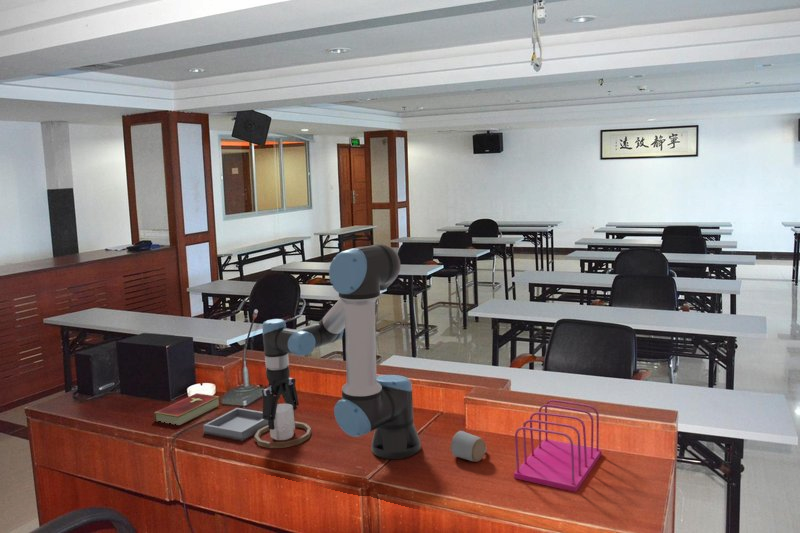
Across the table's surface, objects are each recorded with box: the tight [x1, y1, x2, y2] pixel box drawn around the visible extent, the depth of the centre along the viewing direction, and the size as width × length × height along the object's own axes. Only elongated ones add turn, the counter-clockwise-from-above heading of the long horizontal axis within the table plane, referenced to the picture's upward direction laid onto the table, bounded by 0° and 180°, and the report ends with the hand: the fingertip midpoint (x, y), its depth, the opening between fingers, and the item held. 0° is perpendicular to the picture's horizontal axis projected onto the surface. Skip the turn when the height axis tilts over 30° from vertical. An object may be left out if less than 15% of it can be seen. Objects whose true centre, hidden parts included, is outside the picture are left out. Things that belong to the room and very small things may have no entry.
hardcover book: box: [153, 392, 220, 426], centre depth 244 cm, size 12×21×4 cm, turn 153°
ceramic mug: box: [450, 430, 488, 463], centre depth 196 cm, size 11×8×8 cm
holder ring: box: [253, 420, 312, 449], centre depth 218 cm, size 18×18×2 cm
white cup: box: [271, 402, 295, 441], centre depth 218 cm, size 8×8×10 cm
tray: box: [202, 407, 268, 442], centre depth 228 cm, size 17×17×3 cm
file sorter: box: [513, 399, 603, 493], centre depth 186 cm, size 17×25×16 cm
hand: (283, 432), depth 218 cm, fingers closed on white cup, 8 cm apart
